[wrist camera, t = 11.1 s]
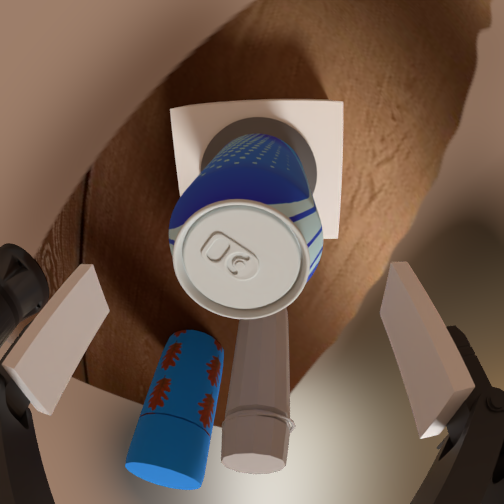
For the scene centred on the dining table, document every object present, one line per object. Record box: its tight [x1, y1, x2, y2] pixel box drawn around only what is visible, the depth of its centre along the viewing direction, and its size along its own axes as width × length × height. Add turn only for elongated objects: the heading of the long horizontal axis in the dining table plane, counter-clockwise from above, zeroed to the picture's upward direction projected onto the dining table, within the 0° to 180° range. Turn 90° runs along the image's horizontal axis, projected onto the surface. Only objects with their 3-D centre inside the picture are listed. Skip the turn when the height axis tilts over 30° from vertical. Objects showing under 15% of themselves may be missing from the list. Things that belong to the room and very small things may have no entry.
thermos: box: [125, 330, 224, 490], centre depth 42 cm, size 11×11×25 cm
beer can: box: [169, 134, 323, 319], centre depth 22 cm, size 8×8×16 cm
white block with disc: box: [170, 99, 343, 239], centre depth 32 cm, size 16×14×8 cm
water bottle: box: [221, 308, 295, 474], centre depth 37 cm, size 9×8×25 cm
